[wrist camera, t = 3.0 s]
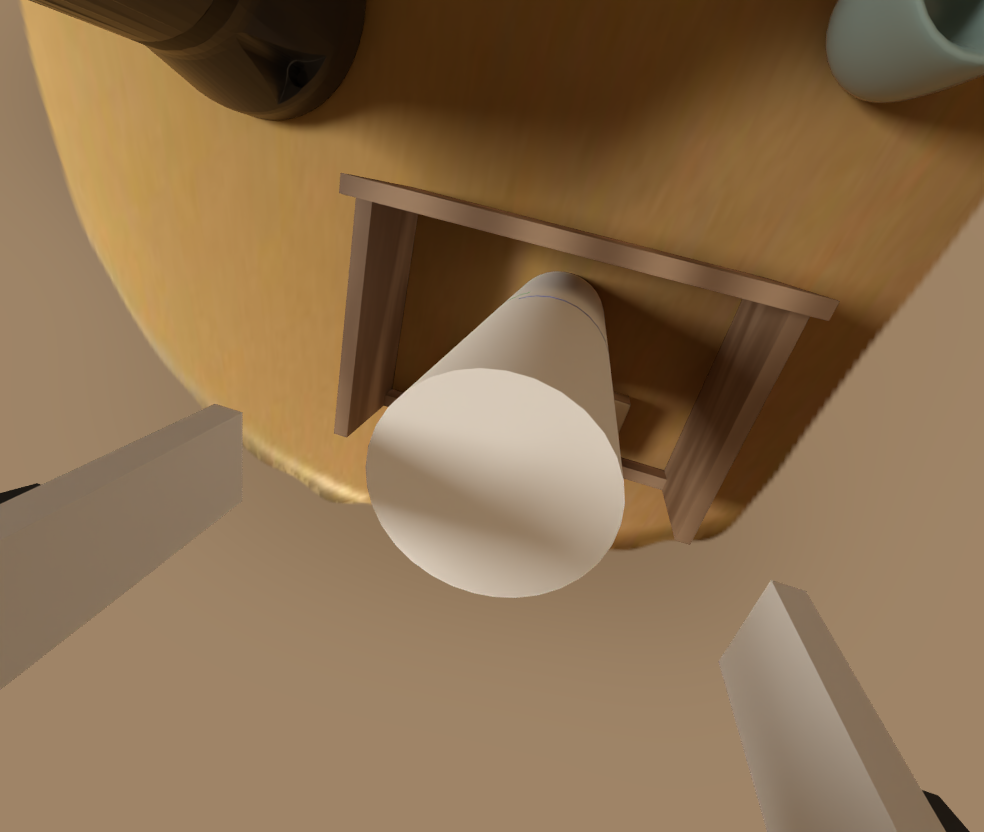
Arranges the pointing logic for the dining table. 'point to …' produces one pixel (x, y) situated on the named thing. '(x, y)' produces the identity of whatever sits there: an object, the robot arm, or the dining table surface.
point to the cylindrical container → (507, 449)
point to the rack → (754, 330)
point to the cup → (904, 47)
